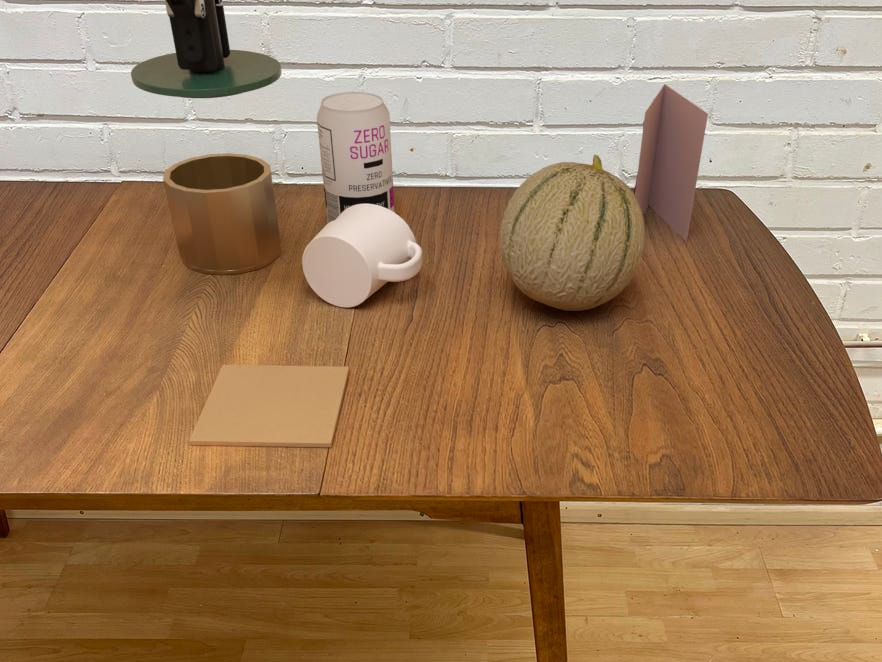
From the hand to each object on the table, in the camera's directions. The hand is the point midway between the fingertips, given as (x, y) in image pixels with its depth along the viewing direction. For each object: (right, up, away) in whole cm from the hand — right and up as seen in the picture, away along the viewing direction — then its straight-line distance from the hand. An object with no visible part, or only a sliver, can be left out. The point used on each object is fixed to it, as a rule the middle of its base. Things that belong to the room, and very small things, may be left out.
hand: (205, 60), depth 75 cm
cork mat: (+5, -29, +4) cm, 30 cm away
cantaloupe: (+33, -17, +20) cm, 42 cm away
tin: (-6, -9, +28) cm, 30 cm away
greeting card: (+46, -4, +36) cm, 58 cm away
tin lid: (0, -1, +1) cm, 1 cm away
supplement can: (+9, -5, +34) cm, 36 cm away
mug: (+11, -15, +22) cm, 29 cm away
